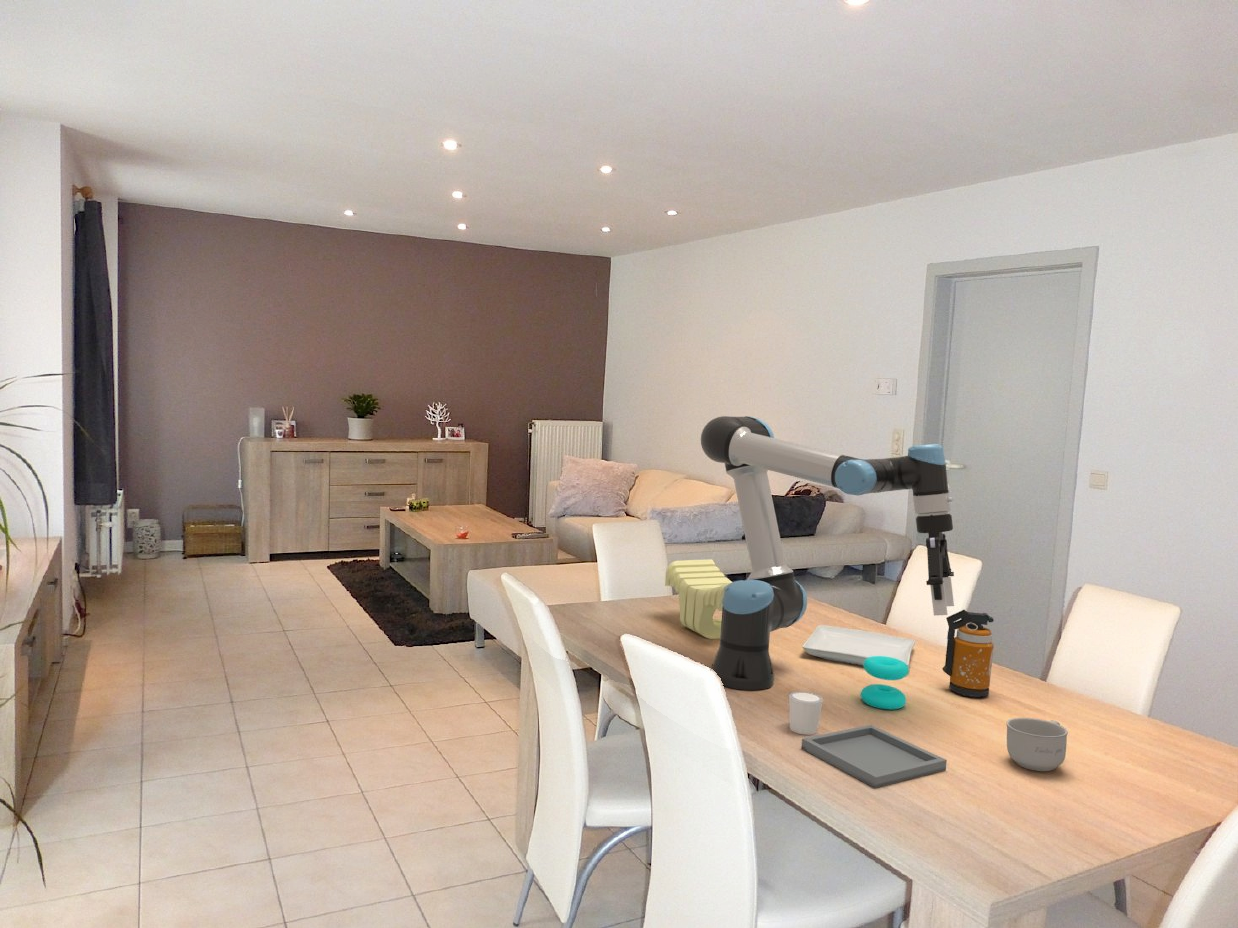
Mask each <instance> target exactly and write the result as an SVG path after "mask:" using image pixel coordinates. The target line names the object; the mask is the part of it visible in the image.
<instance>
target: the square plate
mask: <svg viewBox="0 0 1238 928" xmlns="http://www.w3.org/2000/svg"><path fill="white" fill-rule="evenodd" d="M914 646H916V640H915V639H913V638H906V637H903V636H902V637H901V636H895V635H891V634H885V633H880V632H874V631H870V630H869V631H867V630H861V629H856V628H855V629H854V628H847V627H839V626H832V625H826V624H825V625H824V624H818V625H817V627H815V629H814V630H813V632H812V633H811V634H810V636H809V637H808V638H807V639H806V641H805V642H804V643H803V644H802V649H803V650H804V651H805V652H806V654H809V656H810V655H811V656H813V657H816V658H817V657H818V658H821V659H824V660H827V661H834V662H839V663H844V662H846V663H845V664H850V663H851V664H852V665H856V664H858V665H857V666H862V667H863V663H864V661H865V659H867V658H868V657H872V656H886V657H892V658H896V659H899V660H901V661H903V662H904V663H906V664H907V666H908V667H909V665H910V661H911V655H912V651H913V649H914Z"/></svg>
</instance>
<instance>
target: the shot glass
mask: <svg viewBox="0 0 1238 928" xmlns="http://www.w3.org/2000/svg"><path fill="white" fill-rule="evenodd" d="M788 697H789V700H788V703H789V704H788V705H789V707H788V708H789V730H790V731H792V732H794V733H795V734H798V735H799V734H800V735H806V736H808V735H809V736H811V735H815V734H816V733H818V729H819V723H820V718H821V712H822V707H823V702H824V701H823V697H822V696H820V695H819V694H817V693H816V694H815V693H812V692H808V691H793V692H791V693H789V695H788Z"/></svg>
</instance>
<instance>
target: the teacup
mask: <svg viewBox="0 0 1238 928" xmlns="http://www.w3.org/2000/svg"><path fill="white" fill-rule="evenodd" d="M1068 734H1069V731H1068V729H1067V728H1065V727H1064V726H1062V725H1061V723H1060V722H1059V721H1057V720H1051V719H1050V720H1049V721H1048V720H1046V719H1045V720H1044V719H1040V718H1034V717H1033V718H1032V717H1028V718H1027V717H1015V718H1011V719H1008V720H1007V721H1006V750H1007V753H1008V755H1009V757H1010V758H1011V759H1012V760H1013V761H1014V762H1015V763H1016V764H1017V766H1018V765H1019V767H1022V768H1025V769H1027V770H1031V771H1036V772H1051V771H1053V770H1055V769H1056V768H1057V767H1059V766H1061V765H1062V764H1063V763H1064V762H1065V758H1066V754H1067V753H1066V752H1067V745H1068V744H1067V742H1068V741H1067V737H1068Z"/></svg>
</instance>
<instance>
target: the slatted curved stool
mask: <svg viewBox="0 0 1238 928" xmlns="http://www.w3.org/2000/svg"><path fill="white" fill-rule="evenodd" d="M664 580H665V582H664V586H665V587H666V586H667V587H668V586H669V587H671V588H674V590H675V592H676V594H678V604H679V605H678V606H679V621H680V624H681V625H682V626H683V627H685V628H686V629H689V630H691V631H693V632H695V633H696V634H699V635H700V636H702V637H704V638H707V639H710V640H712V639H720V636H721V622H722V618H713V617H714V615H715V613H716V611H717V610H718V611H720V612H722V607H723V605H722V600H723V597H724V590H725V588H726V586H727V585H729V584H730V583H732V582H733V581H731V580H730V579H729V578H728V577H727V576H726V575H725V574H724V573H723V572H722V571H721V570H720V568H719V567H718V566H716V563H715V561H714V560H713V558H712V559H710V558H709V559H687V560H684V559H683V560H674V561H672V562H671V563H669V565H668V566H667V567H666V570H665V579H664Z"/></svg>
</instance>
